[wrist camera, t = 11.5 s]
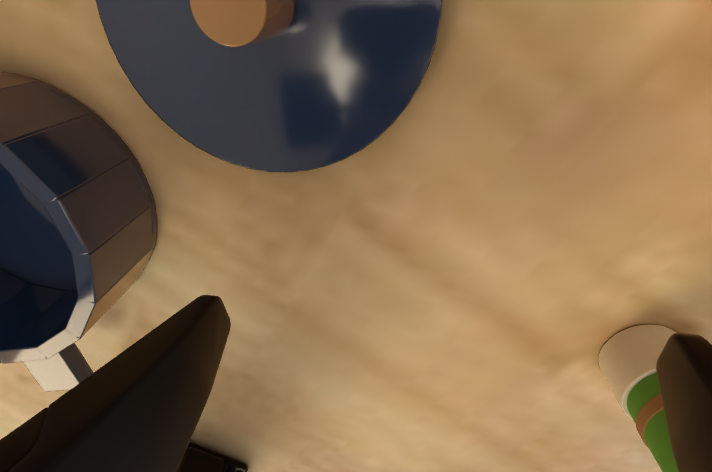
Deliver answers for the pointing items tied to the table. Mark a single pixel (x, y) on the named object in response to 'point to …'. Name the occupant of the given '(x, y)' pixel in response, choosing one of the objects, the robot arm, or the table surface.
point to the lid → (275, 72)
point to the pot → (63, 227)
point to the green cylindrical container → (640, 385)
